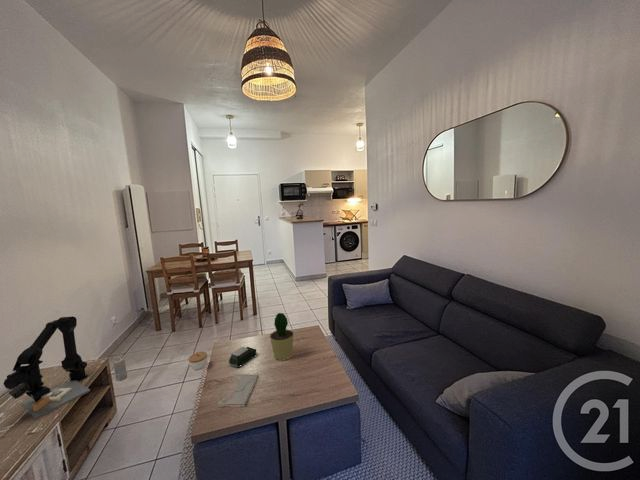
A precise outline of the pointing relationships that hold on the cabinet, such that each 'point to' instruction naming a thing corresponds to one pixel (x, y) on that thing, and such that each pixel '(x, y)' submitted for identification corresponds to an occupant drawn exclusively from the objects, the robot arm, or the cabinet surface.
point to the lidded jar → (198, 360)
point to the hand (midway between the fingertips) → (37, 403)
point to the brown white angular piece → (50, 398)
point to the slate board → (73, 394)
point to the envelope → (240, 389)
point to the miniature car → (241, 356)
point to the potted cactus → (281, 338)
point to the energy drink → (120, 369)
